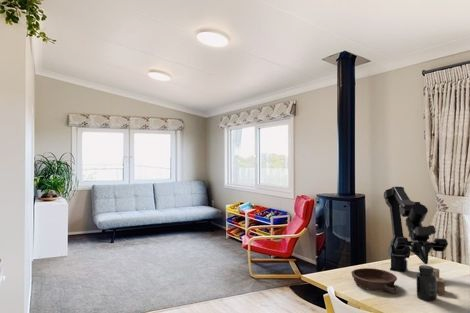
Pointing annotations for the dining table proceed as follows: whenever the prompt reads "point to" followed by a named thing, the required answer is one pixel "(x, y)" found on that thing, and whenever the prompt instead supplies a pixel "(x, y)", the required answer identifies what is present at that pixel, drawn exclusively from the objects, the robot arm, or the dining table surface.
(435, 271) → the walnut block far
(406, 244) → the robot arm
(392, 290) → the dish
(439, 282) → the walnut block near bottle
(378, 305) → the dining table surface
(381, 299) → the dining table surface
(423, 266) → the supplement bottle
